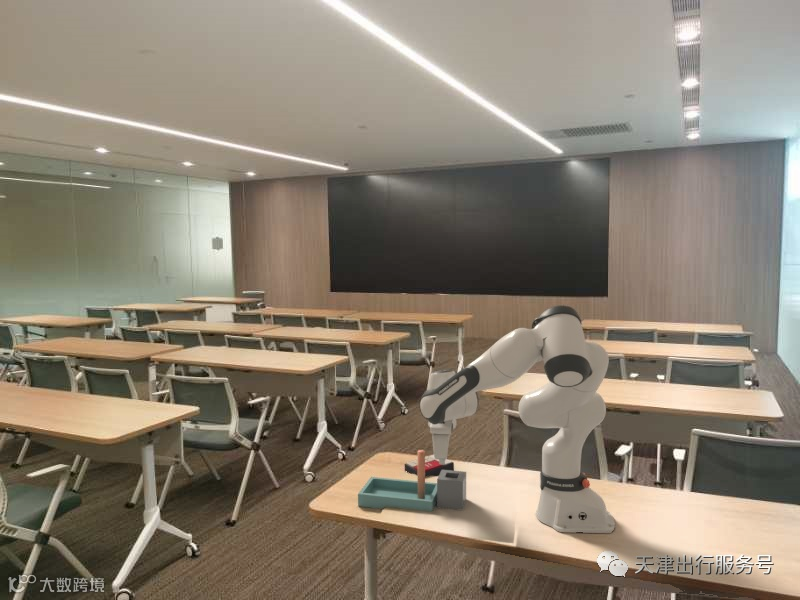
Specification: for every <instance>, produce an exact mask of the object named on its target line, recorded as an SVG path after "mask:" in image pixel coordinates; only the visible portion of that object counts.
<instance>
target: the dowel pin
mask: <svg viewBox="0 0 800 600" xmlns="http://www.w3.org/2000/svg"><path fill="white" fill-rule="evenodd" d="M425 457H426V451H425V450H423V449H418V450H417V460H418V476H417V481H418V499H425V482H426V477H425Z"/></svg>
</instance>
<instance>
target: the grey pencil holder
mask: <svg viewBox="0 0 800 600" xmlns="http://www.w3.org/2000/svg"><path fill="white" fill-rule="evenodd" d="M436 479H437V480H436V483H437V501H436V505H437V506H436V508H439V509H447V510H448V509H450V510H459V511H464V508H465V504H466V501H467V471H462V470H460V471H459V470H454V471H452V470H441V472H440V474H439V476H437V478H436Z"/></svg>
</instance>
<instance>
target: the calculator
mask: <svg viewBox="0 0 800 600" xmlns="http://www.w3.org/2000/svg"><path fill="white" fill-rule="evenodd" d="M454 465H455V464H454V462H453V461H452V460H449V459H447V458H446V460H445V464H444V465H440V464H439V460H438V459H435V457H434V454H430V455H425V478H426V477H429V476H431V477H438V475H439V474H440V472H441V470H452V471H455V466H454ZM406 471H407V472H406ZM404 472H406V473H408V472H409V473H410V474H411V475H416V476H417V477H418V459H414V460H410V461H406V462H405V463H404ZM409 473H408V474H409ZM410 474H409V475H410Z"/></svg>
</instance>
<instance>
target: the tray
mask: <svg viewBox="0 0 800 600" xmlns="http://www.w3.org/2000/svg"><path fill="white" fill-rule="evenodd" d="M436 505H437V482H430V481H429V482H428V481H425V499H418V480H408V479H397V478H389V477H386V478H385V477H378V476H377V477H376V476H370V477H369V479H368V480H367V481H366V482H365V485H364V486H363V487H362V488H361V489H360V491H359V492H358V493H357V507H364V508H372V509H381V510H383V509H385V508H386V507H389V508H399V509H407V510H416V511H427V512H433V511H434V508H435V506H436Z"/></svg>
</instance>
